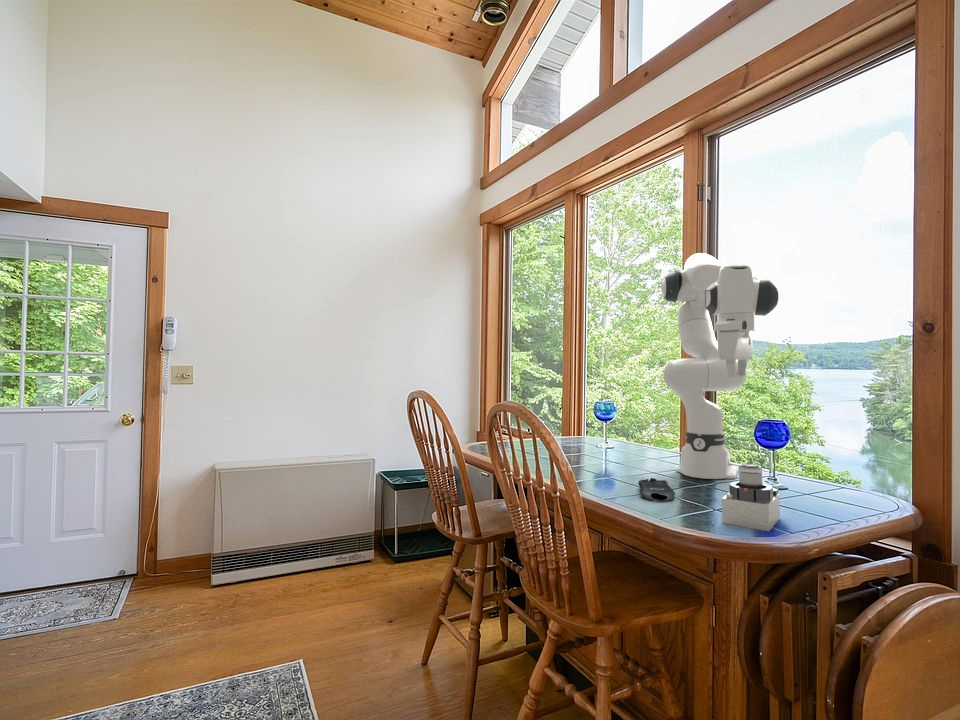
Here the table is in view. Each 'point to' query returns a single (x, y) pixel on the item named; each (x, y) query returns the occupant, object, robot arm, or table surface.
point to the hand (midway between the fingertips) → (737, 377)
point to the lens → (750, 476)
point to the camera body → (751, 507)
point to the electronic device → (655, 489)
